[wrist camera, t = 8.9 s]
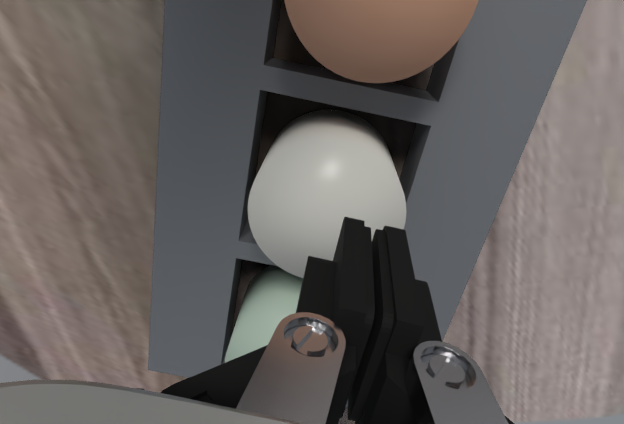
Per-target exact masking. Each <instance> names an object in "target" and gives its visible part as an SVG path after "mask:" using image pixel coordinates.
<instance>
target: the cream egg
mask: <svg viewBox="0 0 624 424" xmlns="http://www.w3.org/2000/svg"><path fill="white" fill-rule="evenodd" d="M344 217H349V218H354V219H358V220H363V221H364V224H365V226H366V227H370V228H371V239H372V240H373V236H374V233H375V230H376V229H379V230H383V228H384V226H390V227H394V228H399V229H404V226H405V222H406V201H405V196H404V192H403V189H402V186H401V183H400V181H399V178H398V175H397V172H396V169H395V166H394V164H393V161H392V158H391V155H390V152H389V149H388V147H387V145H386V143H385V141H384V139H383V138H382V136H381V135H380V133H379V132H378V131H377V130H376V129H375V128H374V127H373V126H372V125H371V124H369V123H368V122H367V121H365V120H364V119H362V118H360V117H358V116H356V115H354V114H351V113H348V112H344V111H339V110H319V111H314V112H310V113H307V114H304V115H302V116H300V117H298V118H296V119H294V120H293V121H291V122H290V123H289V124H287V125H286V126H285V127H284V128H283V129H282V130H281V131H280V132H279V134H278V135H277V136H276V138H275V139H274V141H273V143H272V145H271V147H270V149H269V151H268V153H267V155H266V157H265V159H264V161H263V163H262V166H261V168H260V170H259V172H258V174H257V176H256V178H255V180H254V182H253V185H252V188H251V190H250V194H249V199H248V220H249V225H250V229H251V231H252V234H253V237H254V239H255V240H256V242H257V244H258V246H259V247H260V249H261V250H262V251H263V253H264V254H265V255H266V256H267V257H268V258H269V259H270V260H271V261H272V262H273V263H275V264H276V265H277V266H279V267H280V268H282V269H283V270H285V271H287V272H289V273H290V274H292V275H295V276H298V277H300V278H303V277H304V273H305V268H306V264H307V259H308V256H312V257H317V258H322V259H326V260H331V261H333V258H334V254H335V250H336V246H337V243H338V239H339V235H340V231H341V227H342V223H343V220H344Z"/></svg>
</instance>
